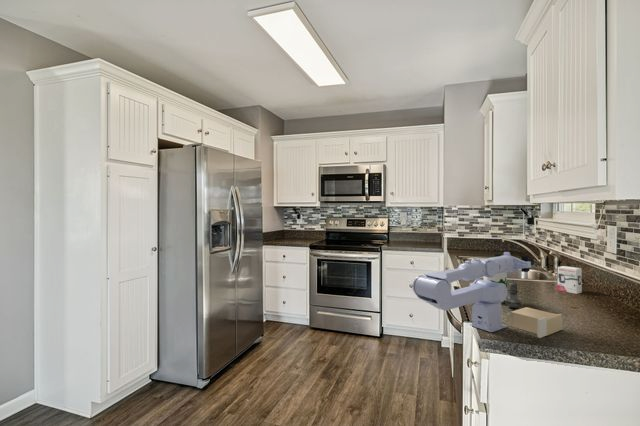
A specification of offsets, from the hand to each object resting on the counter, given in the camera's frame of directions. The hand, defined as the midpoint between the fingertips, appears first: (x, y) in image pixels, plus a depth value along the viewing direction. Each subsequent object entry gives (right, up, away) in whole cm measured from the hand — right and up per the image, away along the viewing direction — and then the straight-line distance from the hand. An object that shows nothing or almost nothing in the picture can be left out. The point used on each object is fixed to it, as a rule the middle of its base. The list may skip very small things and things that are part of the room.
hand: (521, 260), depth 122 cm
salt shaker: (+2, -21, +10) cm, 23 cm away
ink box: (+46, -21, +37) cm, 63 cm away
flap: (-1, -21, -17) cm, 27 cm away
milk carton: (+2, -21, +22) cm, 31 cm away
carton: (-3, -21, -11) cm, 24 cm away
